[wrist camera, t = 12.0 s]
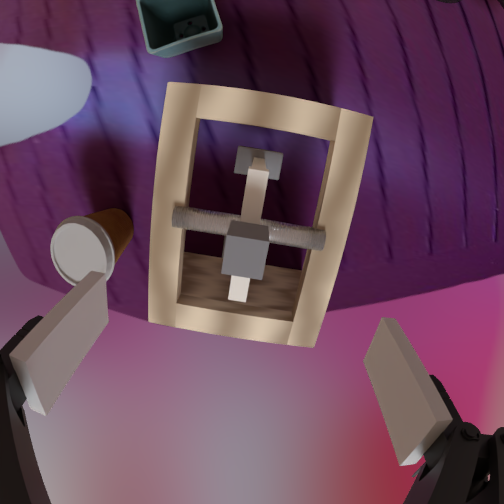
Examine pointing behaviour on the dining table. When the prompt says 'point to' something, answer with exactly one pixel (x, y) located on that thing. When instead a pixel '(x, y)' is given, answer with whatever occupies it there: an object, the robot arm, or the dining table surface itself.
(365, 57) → the dining table surface
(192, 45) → the flower pot
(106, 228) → the disposable coffee cup
